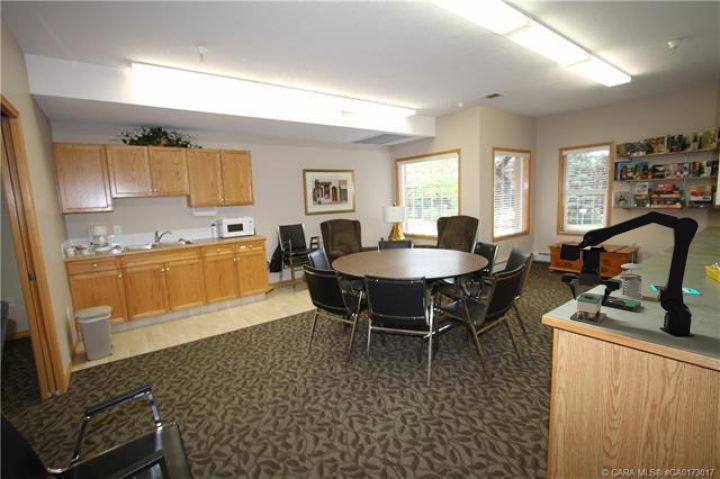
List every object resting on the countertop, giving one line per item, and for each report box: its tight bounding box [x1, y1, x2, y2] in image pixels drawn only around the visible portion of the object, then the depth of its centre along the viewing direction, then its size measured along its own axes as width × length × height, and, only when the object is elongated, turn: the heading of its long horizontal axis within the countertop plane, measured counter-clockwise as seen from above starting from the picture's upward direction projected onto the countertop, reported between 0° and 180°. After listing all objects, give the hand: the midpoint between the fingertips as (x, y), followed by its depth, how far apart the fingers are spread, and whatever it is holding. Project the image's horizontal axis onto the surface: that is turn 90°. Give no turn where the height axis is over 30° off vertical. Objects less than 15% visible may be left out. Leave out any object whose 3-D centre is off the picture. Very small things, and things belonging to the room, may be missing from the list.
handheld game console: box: [650, 284, 701, 296], centre depth 160 cm, size 10×16×1 cm, turn 59°
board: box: [576, 291, 603, 314], centre depth 129 cm, size 11×6×5 cm, turn 136°
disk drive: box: [601, 294, 642, 313], centre depth 143 cm, size 10×3×15 cm
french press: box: [616, 242, 644, 300], centre depth 152 cm, size 10×12×25 cm
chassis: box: [569, 306, 607, 326], centre depth 130 cm, size 13×9×4 cm
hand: (589, 302), depth 129 cm, fingers open, 9 cm apart
